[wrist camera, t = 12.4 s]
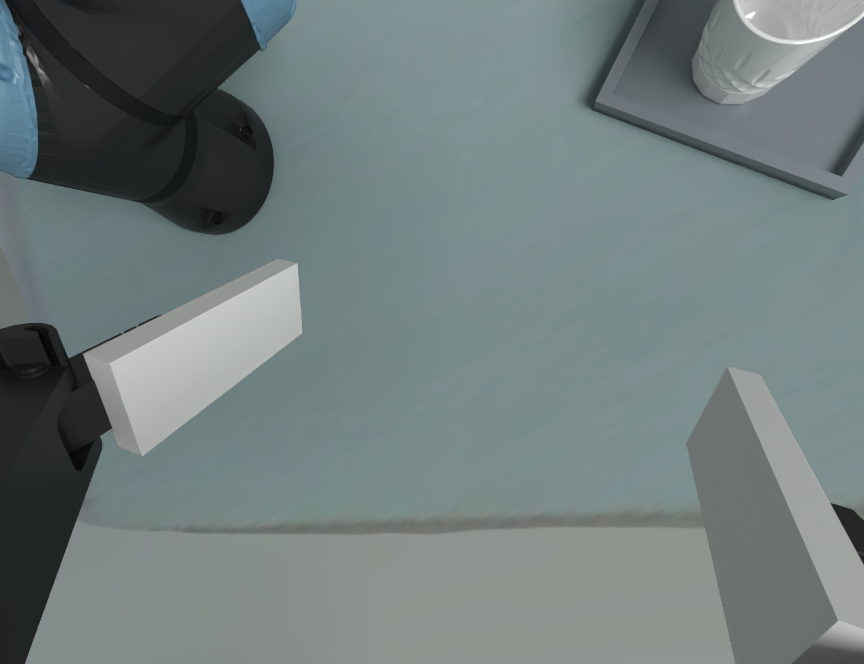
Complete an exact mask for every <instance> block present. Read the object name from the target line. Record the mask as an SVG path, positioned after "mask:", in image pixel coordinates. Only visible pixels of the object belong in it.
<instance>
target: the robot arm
mask: <svg viewBox="0 0 864 664" xmlns="http://www.w3.org/2000/svg"><path fill="white" fill-rule="evenodd" d="M295 8H296V0H0V171H3V172H6V173H8V174H9V175H12V176H14V177H16V178H22V179H29V180H34V181H39V182H44V183H49V184H53V185H58V186H63V187H68V188H73V189H77V190H82V191H87V192H92V193H97V194H101V195H106V196H111V197H116V198H121V199H125V200H131V201H135V202H139V203H142V204H144V205H146V206H147V207H149V208H151V209H152V210H154V211H155V212H157V213H159V214H160V215H162V216H163V217H165V218H167V219H168V220H170V221H172V222H173V223H175V224H176V225H178V226H180V227H182V228H185V229H188V230H191V231H195V232H200V233H206V234H213V235H219V234H226V233H230V232H232V231H235V230H237V229H239V228H241V227H242V226H244V225H245V224H247V223H248V222H249V221H250V220H251V219H252V218H253V217H254V216H255V215H256V214H257V212H258V211H259V210H260V208H261V207H262V205H263V203H264V201H265V199H266V197H267V195H268V192H269V189H270V186H271V182H272V177H273V167H274V159H273V149H272V144H271V140H270V137H269V134H268V132H267V129H266V127H265V125H264V124H263V122H262V120H261V119H260V117H259V116H258V115H257V114H256V113H255V112H254V110H253V109H251V108H250V107H249V106H248V105H247V104H245V103H244V102H242V101H240V100H239V99H237V98H236V97H234V96H232V95H231V94H229V93H227V92H225V91H222V90H220V89H216V88H217V87H219V86H220V85H221V84H222V83H223V82H224V81H225V80H226V79H227V78H228V77H230V76H231V75H232V74H233V73H234V72H235V71H236V70H237V69H238V68H240V67H241V66H242V65H243V64H244V63H245V62H246V61H247V60H248V59H250V58H251V57H252V56H253V55H254V54H255V53H256V52H257V51H258V50H259V49H260V50H261V51H264V50H266V48H267V43H268V42H269V41H270V40H271V39H272V38H273V37H274V36H275V35H276V34H277V33H278V32H279V31H280V30H281V29H282V28H283V27H284V26H285V25H286V24H287V23H288V22H289V21H290V19H291V18H292V16H293V14H294V12H295ZM300 334H302V322H301V308H300V294H299V280H298V266H297V263H295V262H291V261H287V260H282V259H276V260H274V261H272V262H270V263H268V264H266V265H264V266H262V267H260V268H258V269H256V270H254V271H251V272H249V273H247V274H245V275H243V276H241V277H239V278H237V279H235V280H233V281H231V282H229V283H227V284H225V285H223V286H221V287H219V288H217V289H215V290H213V291H211V292H209V293H207V294H204V295H202V296H200V297H198V298H196V299H194V300H192V301H190V302H188V303H186V304H184V305H182V306H180V307H178V308H176V309H174V310H172V311H170V312H168V313H166V314H163V315H159V316H156V317H153V318H151V319H149V320H147V321H145V322H143V323H141V324H139V325H138V327H133V328H131V329H129V330H127V331H125V332H124V334H121V333H120V334H118V335H116V336H114V337H112V338H110V339H108V340H106V341H104V342H102V343H100V344H98V345H96V346H94V347H92V348H90V349H87V350H85V351H83V352H81V353H79V354H77V355H75V356H73V357H71V358H69V359H68V357H67V354H66V352H65V349H64V347H63V344H62V342H61V339H60V337H59V334H58V332H57V329H56V328H54V327H53V326H52V325H49V324H44V323H27V324H20V325H14V326H10V327H7V328H3V329H0V664H25V662H26V659H27V656H28V653H29V650H30V647H31V645H32V642H33V639H34V636H35V634H36V631H37V628H38V625H39V623H40V620H41V617H42V614H43V612H44V609H45V606H46V603H47V600H48V598H49V595H50V592H51V589H52V587H53V584H54V581H55V578H56V575H57V573H58V570H59V567H60V564H61V562H62V559H63V556H64V553H65V551H66V548H67V545H68V542H69V539H70V536H71V534H72V531H73V528H74V525H75V523H76V520H77V517H78V514H79V512H80V509H81V506H82V503H83V501H84V498H85V495H86V492H87V489H88V487H89V484H90V481H91V478H92V476H93V473H94V470H95V467H96V464H97V462H98V459H99V456H100V453H101V451H102V441H101V438H100V436H101V435H102V434H104V433H105V432H107V431H108V430H110V429H112V431H113V434H114V437H115V439H116V442H117V444H118V447H121V448H123V449H125V450H128V451H130V452H133V453H135V454H137V455H140V456H143V455H145V454H146V453H147V452H148V451H150V450H151V449H152V448H154V447H155V446H156V445H158V444H159V443H160V442H161V441H163V440H164V439H165V438H167V437H168V436H169V435H171V434H172V433H173V432H174V431H176V430H177V429H178V428H180V427H181V426H182V425H184V424H185V423H186V422H187V421H189V420H190V419H191V418H193V417H194V416H195V415H197V414H198V413H199V412H200V411H202V410H203V409H204V408H206V407H207V406H208V405H209V404H211V403H212V402H213V401H215V400H216V399H217V398H219V397H220V396H221V395H222V394H224V393H225V392H226V391H228V390H229V389H230V388H232V387H233V386H234V385H235V384H237V383H238V382H239V381H241V380H242V379H243V378H245V377H246V376H247V375H248V374H250V373H251V372H252V371H254V370H255V369H256V368H257V367H259V366H260V365H261V364H263V363H264V362H265V361H267V360H268V359H269V358H270V357H272V356H273V355H274V354H276V353H277V352H278V351H280V350H281V349H282V348H283V347H285V346H286V345H287V344H289V343H290V342H291V341H293V340H294V339H295V338H296V337H298V336H299V335H300ZM686 444H687V448H688V453H689V457H690V462H691V466H692V471H693V475H694V480H695V484H696V489H697V493H698V498H699V502H700V507H701V511H702V515H703V520H704V524H705V529H706V533H707V538H708V542H709V547H710V551H711V556H712V560H713V565H714V569H715V574H716V578H717V583H718V587H719V592H720V596H721V600H722V605H723V610H724V614H725V619H726V623H727V627H728V632H729V636H730V641H731V646H732V650H733V655H734V659H735V663H736V664H864V520H863V519H862V518H861V517H860V516H859V515H858V514H857V513H856V512H855V511H854V510H852V509H849V508H845V507H842V506H839V505H835V504H832V503H830V502H829V500H828V498H827V496H826V495H825V493H824V491H823V489H822V487H821V485H820V484H819V482H818V480H817V478H816V476H815V474H814V473H813V471H812V469H811V467H810V465H809V463H808V461H807V460H806V458H805V456H804V454H803V452H802V450H801V449H800V447H799V445H798V443H797V441H796V439H795V438H794V436H793V434H792V432H791V430H790V428H789V427H788V425H787V423H786V421H785V419H784V417H783V415H782V414H781V412H780V410H779V408H778V406H777V404H776V403H775V401H774V399H773V397H772V395H771V393H770V392H769V390H768V388H767V386H766V384H765V382H764V381H763V379H762V377H761V375H760V374H756V373H752V372H748V371H744V370H740V369H735V368H731V367H727V368H726V370H725V372H724V374H723V376H722V377H721V379H720V381H719V383H718V385H717V387H716V389H715V390H714V392H713V394H712V396H711V398H710V400H709V402H708V404H707V405H706V407H705V409H704V411H703V413H702V415H701V417H700V419H699V420H698V422H697V424H696V426H695V428H694V430H693V432H692V434H691V435H690V437H689V439H688V441H687V443H686Z"/></svg>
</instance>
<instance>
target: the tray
mask: <svg viewBox="0 0 864 664" xmlns="http://www.w3.org/2000/svg"><path fill="white" fill-rule="evenodd" d="M716 2H717V0H645V2H644V4H643V6H642V8H641V10H640V12H639V14H638V16H637V18H636V20H635V22H634V24H633V26H632V28H631V30H630V32H629V34H628V36H627V38H626V40H625V42H624V44H623V46H622V48H621V50H620V52H619V54H618V56H617V58H616V60H615V62H614V64H613V66H612V68H611V70H610V72H609V74H608V76H607V78H606V80H605V82H604V84H603V86H602V88H601V90H600V92H599V94H598V96H597V98H596V100H595V104H594V108H593V110H594V111H597V112H600V113H602V114H605V115H608V116H610V117H613V118H616V119H618V120H621V121H624V122H626V123H629V124H632V125H634V126H637V127H640V128H642V129H645V130H648V131H650V132H653V133H656V134H658V135H661V136H664V137H666V138H669V139H672V140H674V141H677V142H680V143H682V144H685V145H688V146H690V147H693V148H696V149H698V150H701V151H704V152H706V153H709V154H712V155H714V156H717V157H720V158H722V159H725V160H728V161H730V162H733V163H736V164H738V165H741V166H744V167H746V168H749V169H752V170H754V171H757V172H760V173H762V174H765V175H768V176H770V177H773V178H776V179H778V180H781V181H784V182H786V183H789V184H792V185H794V186H797V187H800V188H802V189H805V190H808V191H810V192H813V193H816V194H818V195H821V196H824V197H826V198H829V199H832V200H834V199H837V198H840V197H843V196H846V195H848V194H849V192H850V191H851V189H852V188H853V186H854V185H855V183H856V181H857V180H858V178H859V177H860V175H861V174H862V172H863V171H864V17H863V18H861V19H860V20H859V21H858V22H856V23H855V24H854V25H853V26H851V27H850V28H849V29H848V30H846V31H845V32H844V33H843V34H841V35H840V36H839V37H838V38H836V39H835V40H834V41H833V42H832V43H830V44H829V45H828V46H827V47H825V48H824V49H823V50H822V51H821V52H819V53H818V54H817V55H816V56H814V57H813V58H812V59H811V60H809V61H808V62H807V63H806V64H804V65H803V66H802V67H800V68H799V69H798V70H796V71H795V72H794V73H792V74H791V75H790V76H788V77H787V78H785V79H784V80H782V81H781V82H779V83H777V84H776V85H775V86H774V87H773V88H771V89H770V90H769V91H768V92H767V93H765V94H764V95H763V96H761V97H758V98H756V99H753V100H751V101H748V102H745V103H743V104H719V103H717V102H715V101H713V100H711V99H709V98H707V97H705V96H703V95H702V94H701V92H700V91H699V89H698V88H697V86H696V84H695V83H694V81H693V79H692V58H693V56H694V53H695V51H696V49H697V46H698V44H699V42H700V39H701V37H702V33H703V30H704V28H705V26H706V24H707V21H708V19H709V17H710V14H711V12H712V10H713V8H714V6H715V4H716Z"/></svg>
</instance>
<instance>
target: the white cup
mask: <svg viewBox="0 0 864 664" xmlns="http://www.w3.org/2000/svg"><path fill="white" fill-rule="evenodd" d="M863 17H864V0H717V2H716V4H715V6H714V8H713V10H712V12H711V14H710V17H709V19H708V21H707V24H706V26H705V28H704V30H703V33H702V37H701V39H700V42H699V44H698V46H697V49H696V51H695V53H694V56H693V58H692V79H693V81H694V83H695V84H696V86H697V88H698V89H699V91H700V92H701V94H702V95H703V96H705V97H707V98H709V99H711V100H713V101H715V102H717V103H719V104H743V103H745V102H748V101H751V100H753V99H756V98H758V97H761V96H763V95H764V94H765V93H767V92H768V91H769V90H770V89H771V88H773V87H774V86H775V85H776V84H777V83H779V82H781V81H782V80H784V79H785V78H787V77H788V76H790V75H791V74H792V73H794V72H795V71H796V70H798V69H799V68H800V67H802V66H803V65H804V64H806V63H807V62H808V61H809V60H811V59H812V58H813V57H814V56H816V55H817V54H818V53H819V52H821V51H822V50H823V49H824V48H825V47H827V46H828V45H829V44H830V43H832V42H833V41H834V40H835V39H836V38H838V37H839V36H840V35H841V34H843V33H844V32H845V31H846V30H848V29H849V28H850V27H851V26H853V25H854V24H855V23H856V22H858V21H859V20H860V19H861V18H863Z"/></svg>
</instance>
